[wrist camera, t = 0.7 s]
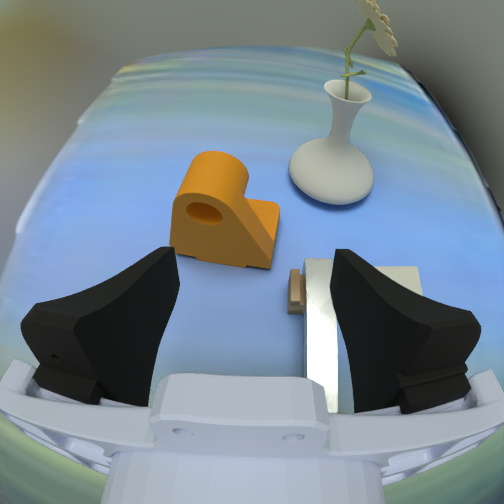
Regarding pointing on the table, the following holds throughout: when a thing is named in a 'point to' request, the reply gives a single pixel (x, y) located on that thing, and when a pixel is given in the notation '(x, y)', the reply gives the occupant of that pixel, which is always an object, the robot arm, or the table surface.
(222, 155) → the bracket
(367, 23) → the flower in vase
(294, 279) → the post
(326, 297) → the rail
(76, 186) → the table surface
